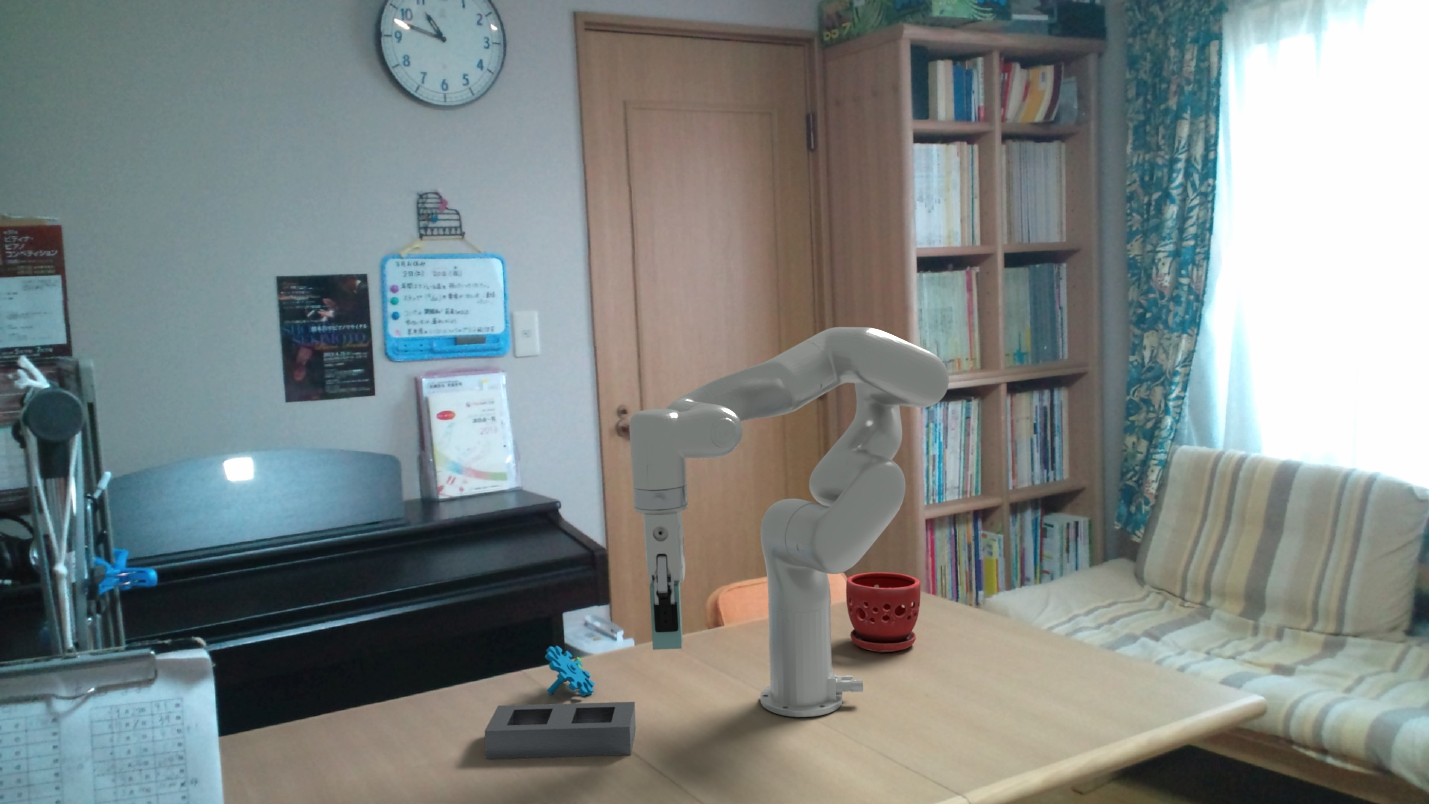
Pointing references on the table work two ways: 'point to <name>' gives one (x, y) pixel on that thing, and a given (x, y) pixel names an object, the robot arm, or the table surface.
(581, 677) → the gear
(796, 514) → the robot arm
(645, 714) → the table surface
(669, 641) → the peg
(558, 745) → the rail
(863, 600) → the plant pot
